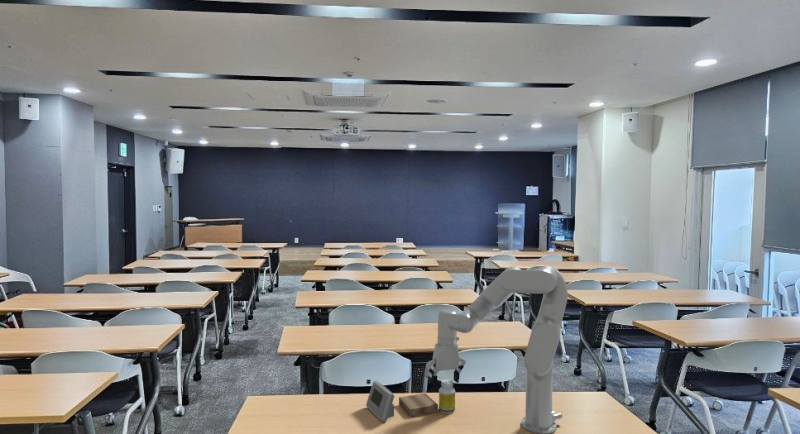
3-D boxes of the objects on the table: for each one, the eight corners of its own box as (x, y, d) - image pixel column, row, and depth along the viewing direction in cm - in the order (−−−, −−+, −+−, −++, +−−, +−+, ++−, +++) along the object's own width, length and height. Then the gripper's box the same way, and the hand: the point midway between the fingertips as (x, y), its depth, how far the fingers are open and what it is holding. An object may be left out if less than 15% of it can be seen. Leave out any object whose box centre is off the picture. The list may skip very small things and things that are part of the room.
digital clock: (365, 406, 189) (365, 380, 188) (386, 403, 191) (386, 378, 191) (374, 424, 173) (374, 396, 173) (397, 421, 176) (397, 394, 175)
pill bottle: (454, 414, 181) (454, 385, 181) (437, 413, 182) (438, 384, 182) (455, 407, 188) (455, 379, 187) (439, 406, 189) (440, 378, 188)
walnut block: (425, 400, 195) (425, 393, 195) (437, 412, 184) (438, 404, 183) (398, 404, 190) (399, 397, 190) (410, 417, 179) (410, 409, 179)
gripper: (461, 336, 191) (459, 377, 192) (423, 340, 185) (421, 382, 185) (470, 341, 184) (468, 384, 185) (431, 345, 178) (429, 389, 178)
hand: (445, 383), depth 185 cm, fingers open, 9 cm apart
